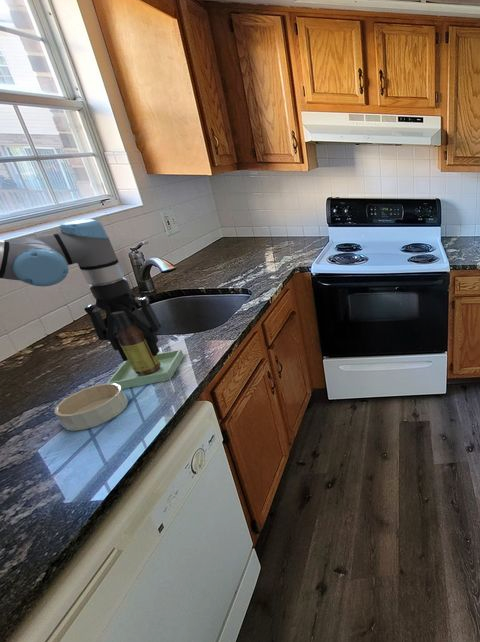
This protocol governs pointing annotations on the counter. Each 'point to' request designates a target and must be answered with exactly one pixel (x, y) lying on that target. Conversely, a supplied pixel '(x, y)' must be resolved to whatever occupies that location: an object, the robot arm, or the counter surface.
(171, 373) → the tray
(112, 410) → the bowl
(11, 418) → the counter surface
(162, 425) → the counter surface
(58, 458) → the counter surface
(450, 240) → the counter surface
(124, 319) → the sauce bottle
